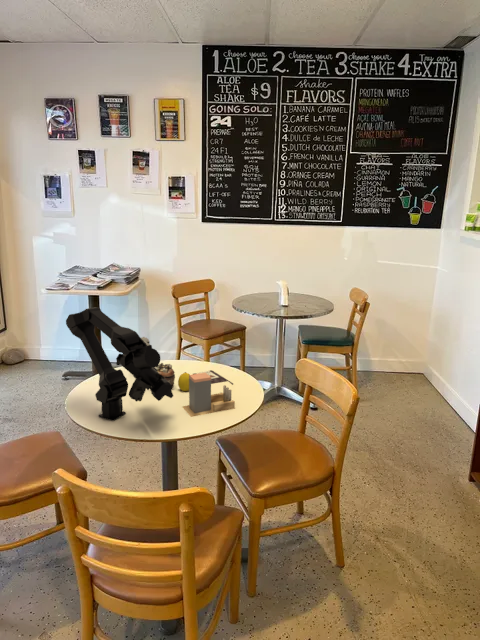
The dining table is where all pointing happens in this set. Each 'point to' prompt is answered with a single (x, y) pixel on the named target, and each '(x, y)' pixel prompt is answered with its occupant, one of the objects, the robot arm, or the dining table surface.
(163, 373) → the cupcake
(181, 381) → the lemon
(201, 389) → the plug block
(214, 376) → the chocolate bar
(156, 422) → the dining table surface
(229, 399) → the wooden stand
